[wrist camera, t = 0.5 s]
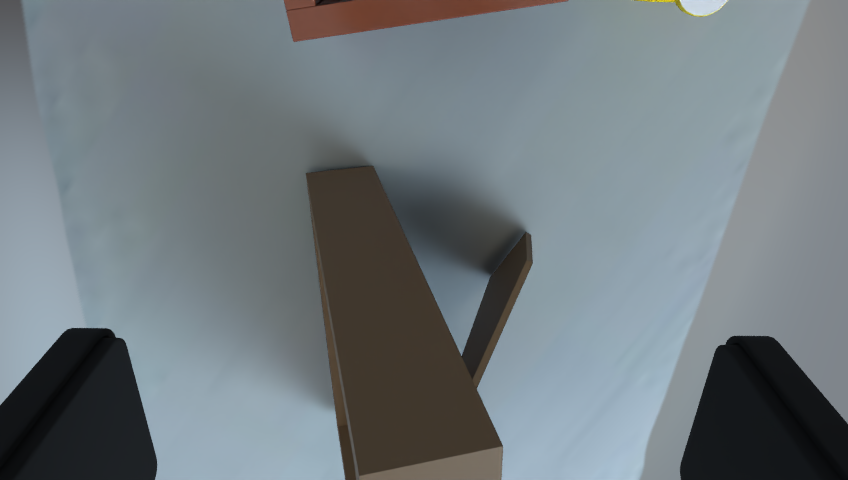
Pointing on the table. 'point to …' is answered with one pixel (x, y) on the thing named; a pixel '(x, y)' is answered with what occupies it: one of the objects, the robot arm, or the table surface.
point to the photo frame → (401, 342)
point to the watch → (696, 6)
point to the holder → (383, 14)
